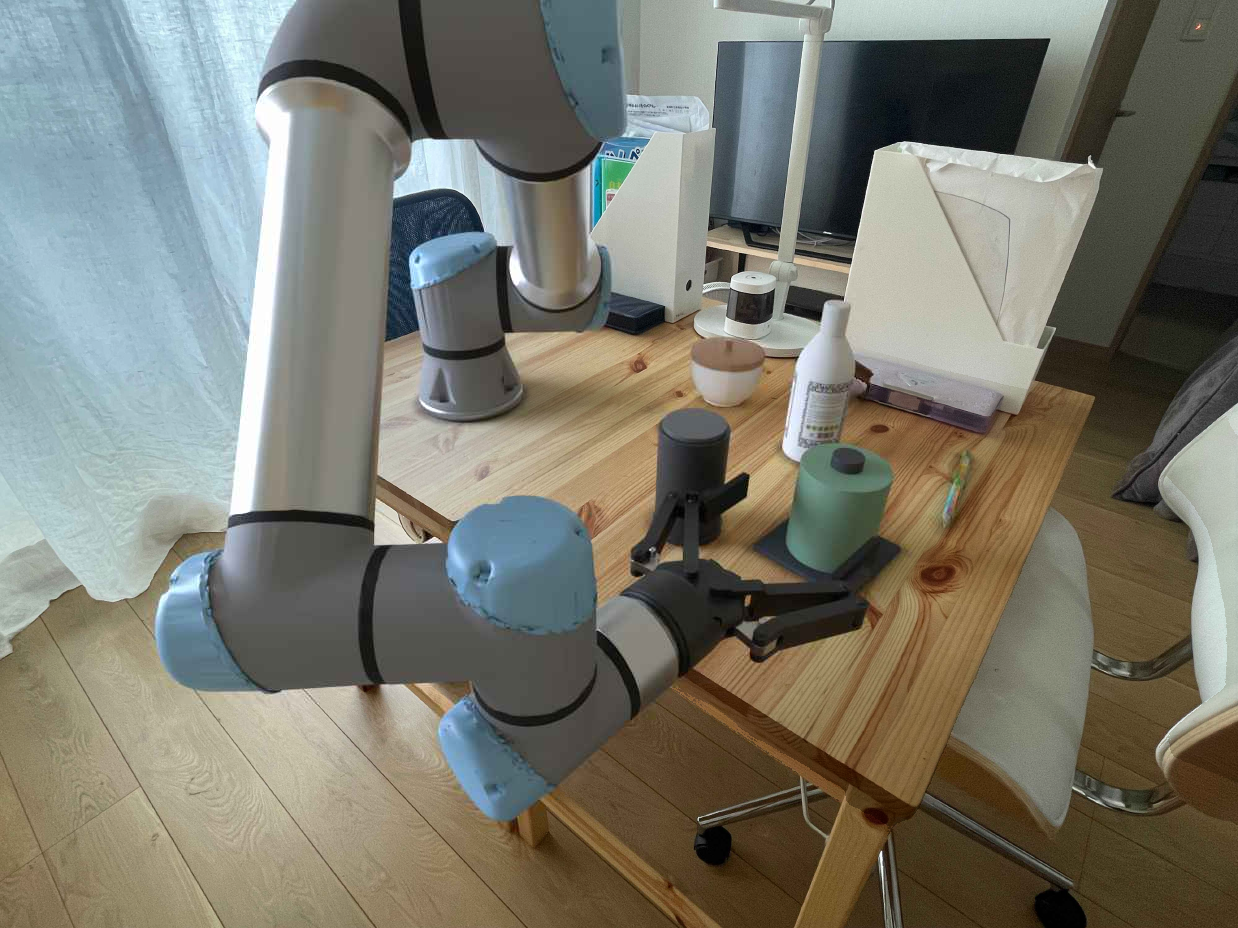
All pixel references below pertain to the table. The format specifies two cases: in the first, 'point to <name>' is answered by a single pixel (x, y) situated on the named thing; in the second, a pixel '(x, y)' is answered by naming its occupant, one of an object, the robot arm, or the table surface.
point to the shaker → (691, 462)
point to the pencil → (957, 488)
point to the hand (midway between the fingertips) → (805, 514)
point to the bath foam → (821, 385)
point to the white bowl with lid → (726, 369)
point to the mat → (779, 552)
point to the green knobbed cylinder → (836, 504)
